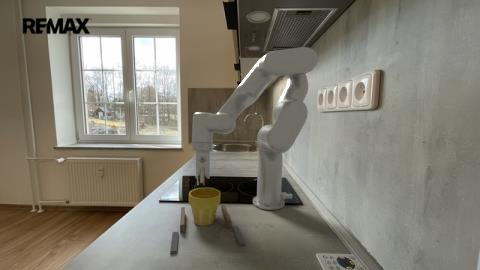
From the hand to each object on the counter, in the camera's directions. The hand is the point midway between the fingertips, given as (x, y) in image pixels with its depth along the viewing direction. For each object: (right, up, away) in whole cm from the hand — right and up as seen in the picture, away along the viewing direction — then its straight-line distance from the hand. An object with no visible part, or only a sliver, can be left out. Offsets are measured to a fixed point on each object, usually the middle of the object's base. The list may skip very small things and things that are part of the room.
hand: (200, 194), depth 82 cm
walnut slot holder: (+3, -6, -9) cm, 11 cm away
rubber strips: (+6, -8, -20) cm, 22 cm away
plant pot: (+3, -7, -9) cm, 11 cm away
